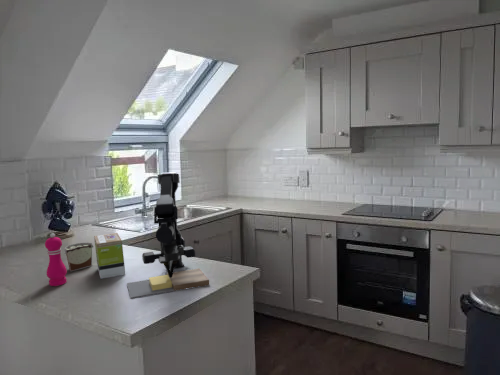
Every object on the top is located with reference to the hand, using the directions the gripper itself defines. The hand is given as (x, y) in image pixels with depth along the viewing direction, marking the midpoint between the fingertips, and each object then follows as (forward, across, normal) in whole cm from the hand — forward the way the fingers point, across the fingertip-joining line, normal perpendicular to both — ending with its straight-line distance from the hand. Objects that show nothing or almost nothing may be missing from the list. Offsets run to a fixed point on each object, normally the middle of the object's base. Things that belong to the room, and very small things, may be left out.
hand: (170, 277), depth 162 cm
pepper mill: (+3, -40, +23) cm, 46 cm away
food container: (+3, -33, +42) cm, 53 cm away
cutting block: (+3, +6, 0) cm, 7 cm away
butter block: (+1, -4, 0) cm, 4 cm away
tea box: (+3, -20, +28) cm, 34 cm away
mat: (+3, -8, 0) cm, 8 cm away
